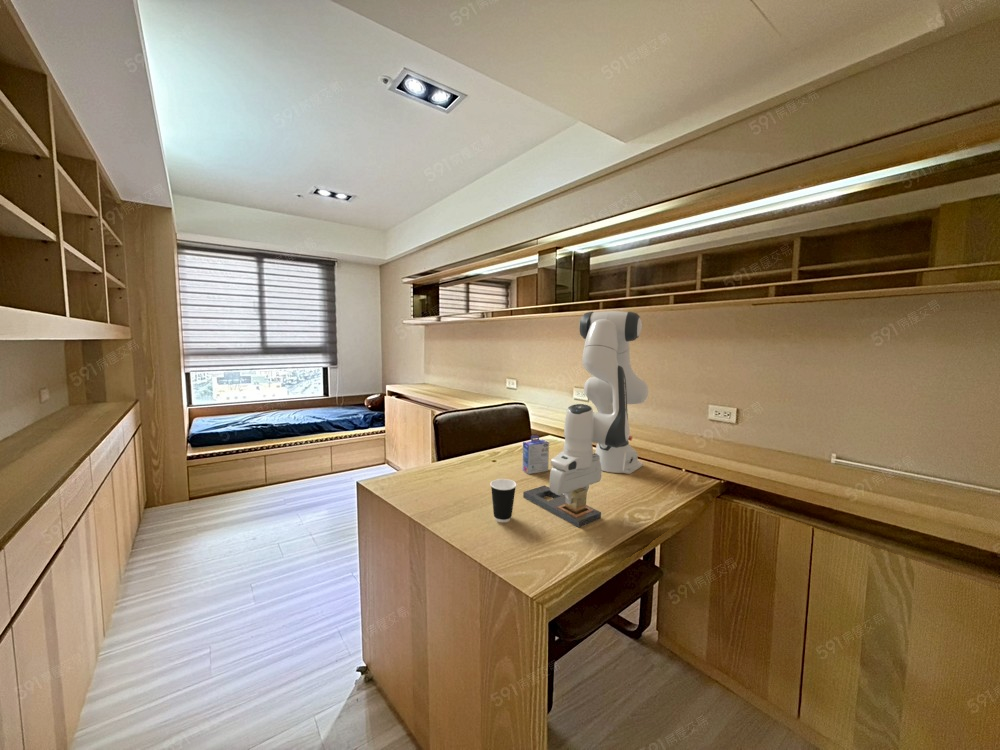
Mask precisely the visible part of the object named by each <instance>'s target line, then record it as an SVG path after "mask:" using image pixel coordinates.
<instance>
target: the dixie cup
mask: <svg viewBox="0 0 1000 750" xmlns="http://www.w3.org/2000/svg"><path fill="white" fill-rule="evenodd" d="M489 485H490V488H491V497H492V508H493V509H492V510H493V517H494V520H495V521H496V522H498V523H508V522H510V521H511V517H512V515H513V511H514V510H513V509H514V508H513V507H514V502H515V494H516V493H515V492H516V487H517V482H516V481H514V480H512V479H508V478H497V479H494V480H492V481H490V483H489Z"/></svg>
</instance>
